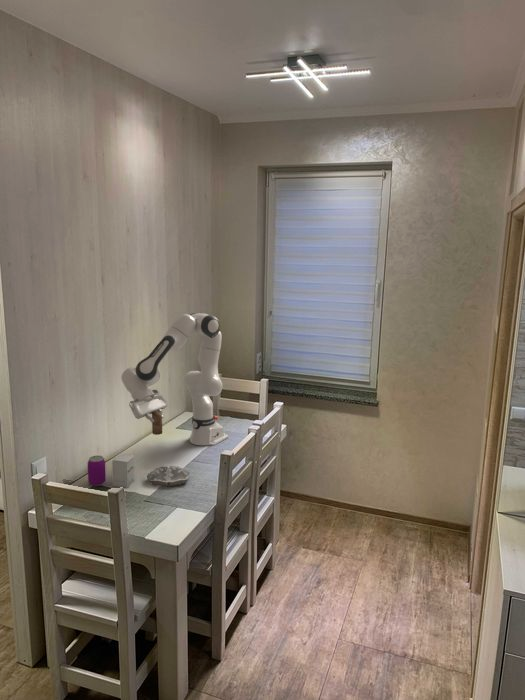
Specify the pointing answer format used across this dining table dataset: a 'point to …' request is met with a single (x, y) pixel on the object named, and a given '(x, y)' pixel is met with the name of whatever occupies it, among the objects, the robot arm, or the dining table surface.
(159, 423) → the walnut pepper mill
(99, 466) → the beverage can
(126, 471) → the supplement box
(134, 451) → the dining table surface
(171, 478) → the brain slice
